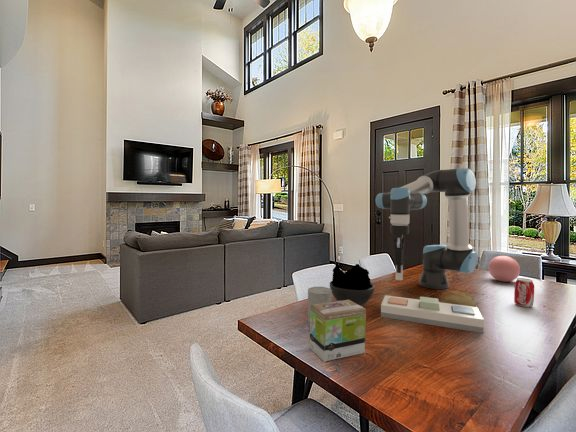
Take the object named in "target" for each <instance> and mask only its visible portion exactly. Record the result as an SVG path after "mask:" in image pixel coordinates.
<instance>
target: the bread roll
mask: <svg viewBox="0 0 576 432" xmlns="http://www.w3.org/2000/svg"><path fill="white" fill-rule="evenodd" d="M439 302H441V303H449V304H457V305H465V306H472V307H477V303H476V300H475V299H474V297H473V296H472V295H471V294H470V293H469V292H467V291H465V290H464V291H463V290H458V289H451V290H448V291H446V292H444V293H442V294H441V295H440V298H439Z"/></svg>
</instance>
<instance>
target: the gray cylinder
mask: <svg viewBox="0 0 576 432" xmlns="http://www.w3.org/2000/svg"><path fill="white" fill-rule="evenodd" d="M327 302H332V290H331V289H330V287H325V286H312V287H309V288H308V289H307V322H308V323H310V315H311V305H312V304H320V303H327Z"/></svg>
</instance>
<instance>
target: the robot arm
mask: <svg viewBox="0 0 576 432" xmlns="http://www.w3.org/2000/svg"><path fill="white" fill-rule="evenodd" d="M476 182H477V180H476V176H475V174H474V172H473V171H472V170H471V169H470V168H467V167H465V168H464V167H463V168H452V169H448V168H447V169H439V170H437V169H436V170H434V171H431V172H428V173H426V174H424V175H421V176H419V177H418V178H416V180H415V181H412V182H410V183H408V184H405V185H403V186H400V187H393V188H391V189H390V191H388V192H380V193H378V194H377V195H376V197H375V205H376V207H377V208H379V209H384V210H390V216H389V215H388V219H390V221H389V222H390V226H389V228H390V231H389V233H390V234H391V235H395V237H394V239H393V240H394V241H393V243H394V251H395V252H394V253H395V255H394V256H395V262H394V263H393V265H394V266H395V278H394V279H395V281H403V277H404V276H403V275H404V273H403V272H404V270H403V269H404V268H403V267H404V265H405V262H404V248H405V240H406V239H405V237H404V236H405V235H409V234H410V225H409V224H410V220H411V219H410V218H411V217H410V211H411V210H412V211H413V210H416V211H418V210H421V209H424V208H425V207H426V206H427V203H428V197H427V196H426V195H427V194H429V193H444V197H446V198H447V200H448V224H449V244H448V245H446V244H431V245H429V244H428V245H424V246H423V250H422V272H421V274H420V277H419V280H418V285H419V286H421V287H424V288H427V289H434V290H447V289H448V288H449V287H450V286H449V284H450V282H449V280H448V276H447V273H446V271H452V272H456V273H457V272H458V273H461V274H471V273H472V272H474V271H475V269H476V267H477V263H478V259H479V255H478V253H477V252H476V251H473V246H472V245H471V244H470V242H469V241H470V240H469V239H470V237H469V236H470V235H469V233H470V232H469V230H470V229H469V205H468V200H469V199H468V198H470V196H471V195H472V192H474V191H475V189H476V184H477V183H476ZM425 194H426V195H425Z"/></svg>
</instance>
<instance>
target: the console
mask: <svg viewBox="0 0 576 432" xmlns="http://www.w3.org/2000/svg"><path fill="white" fill-rule="evenodd" d="M390 297H394V298H401V299H407V306H403V305H396V304H389V303H388V302H389V299H390ZM452 305H455V306H462V307H470V308H472V309H473V312H474V315H467V314H460V313H453V312H452ZM380 318H384V319H385V318H386V319H392V320H399V321H405V322H412V323H419V324H423V325H430V326H436V327H443V328H448V329H449V328H450V329H454V330H455V329H456V330H463V331H466V332H467V331H469V332H475V333H481V334H484V325H485V324H484V322H485V318H484V316H483V315H482V313H481V311H480V310H479V307H477V306H476V307H472V306H465V305H457V304H449V303H441V302H440V301H439V310H432V309H424V308H420V299H418V298H417V299H416V298H409V297H402V296H394V295H386V294H385V295H384V297H383V299H382V301H381V304H380Z"/></svg>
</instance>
